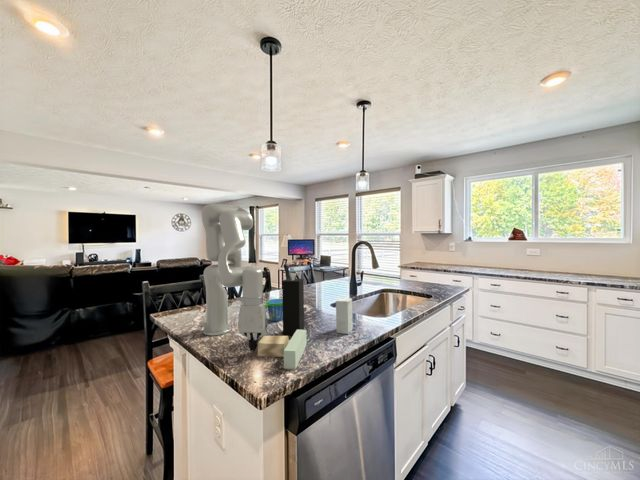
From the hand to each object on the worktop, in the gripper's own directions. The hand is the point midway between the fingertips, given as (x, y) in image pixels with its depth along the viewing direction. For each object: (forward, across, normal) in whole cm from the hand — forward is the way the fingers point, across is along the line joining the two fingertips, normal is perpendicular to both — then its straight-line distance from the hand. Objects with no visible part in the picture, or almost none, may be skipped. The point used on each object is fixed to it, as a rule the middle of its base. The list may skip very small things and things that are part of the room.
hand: (253, 349), depth 102 cm
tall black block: (+2, +10, +22) cm, 25 cm away
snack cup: (+2, -4, +42) cm, 42 cm away
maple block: (+2, +7, +2) cm, 8 cm away
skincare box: (+2, +33, +28) cm, 44 cm away
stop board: (+2, +17, 0) cm, 17 cm away
